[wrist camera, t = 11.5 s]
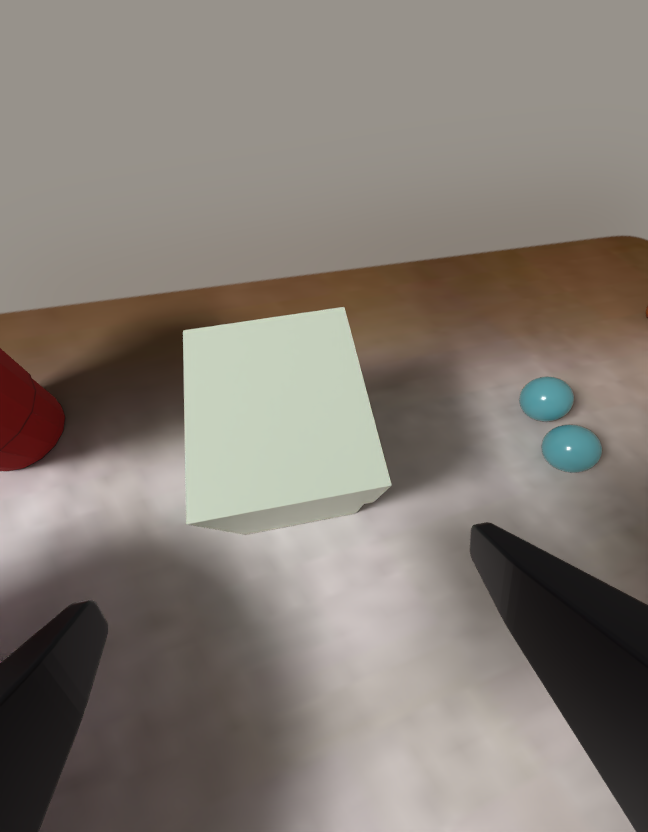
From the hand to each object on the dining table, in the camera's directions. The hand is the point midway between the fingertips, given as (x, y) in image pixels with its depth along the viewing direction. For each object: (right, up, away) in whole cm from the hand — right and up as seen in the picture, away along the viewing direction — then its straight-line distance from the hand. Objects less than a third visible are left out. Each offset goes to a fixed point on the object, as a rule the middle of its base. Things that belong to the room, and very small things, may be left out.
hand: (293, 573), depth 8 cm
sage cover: (-1, +1, +14) cm, 14 cm away
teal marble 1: (+16, +4, +15) cm, 22 cm away
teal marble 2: (+16, +1, +14) cm, 21 cm away
